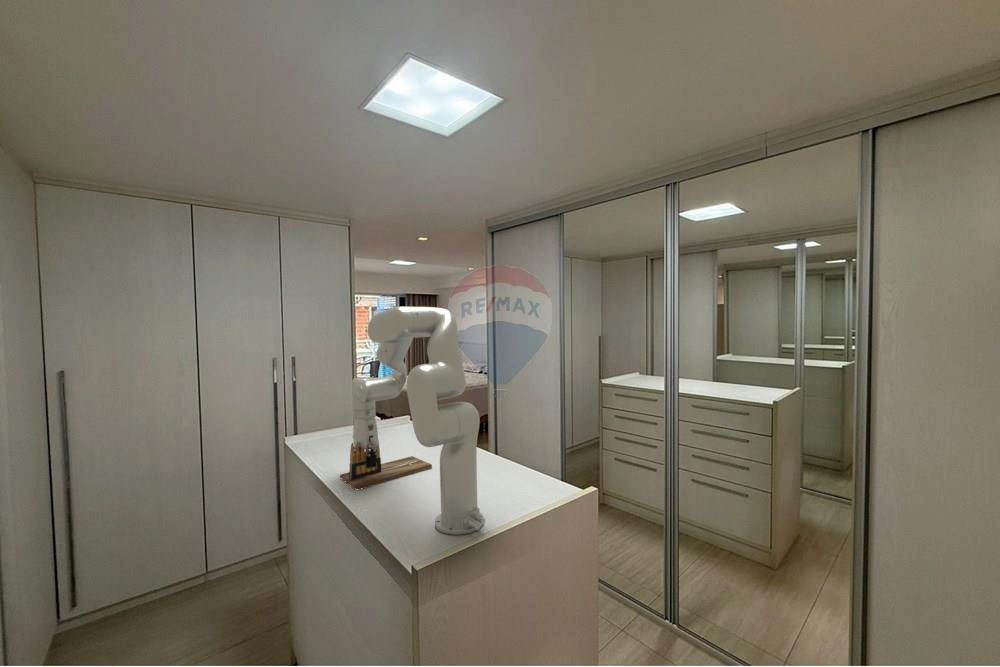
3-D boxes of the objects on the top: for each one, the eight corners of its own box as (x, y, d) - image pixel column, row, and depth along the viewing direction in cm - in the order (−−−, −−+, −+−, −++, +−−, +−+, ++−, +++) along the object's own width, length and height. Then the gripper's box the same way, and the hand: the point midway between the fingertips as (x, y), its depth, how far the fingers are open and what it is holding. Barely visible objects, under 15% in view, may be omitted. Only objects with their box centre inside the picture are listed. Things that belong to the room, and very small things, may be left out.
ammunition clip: (351, 479, 135) (350, 443, 135) (349, 478, 136) (348, 442, 136) (381, 471, 142) (380, 437, 142) (379, 470, 144) (378, 436, 143)
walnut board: (431, 468, 149) (431, 464, 149) (357, 490, 130) (357, 485, 130) (412, 459, 159) (412, 455, 159) (340, 478, 141) (340, 474, 141)
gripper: (386, 415, 135) (387, 467, 136) (363, 408, 148) (365, 455, 148) (364, 419, 130) (365, 473, 130) (343, 411, 143) (344, 460, 143)
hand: (365, 463), depth 139 cm, fingers open, 9 cm apart
